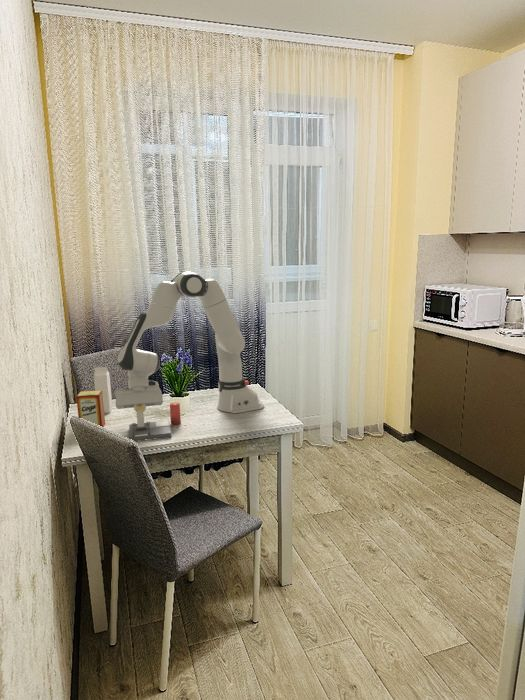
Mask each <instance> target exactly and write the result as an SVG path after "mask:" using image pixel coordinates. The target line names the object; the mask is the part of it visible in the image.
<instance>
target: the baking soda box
mask: <svg viewBox="0 0 525 700" xmlns="http://www.w3.org/2000/svg"><path fill="white" fill-rule="evenodd" d="M75 397H76V407H77V415H78V416H77V417H78V419H79V418H83V419H85V420H87V421H90V422H92V423H95V424H97V425H100V426H102V427H103V428H104V427H105V425H106V418H105V413H104V405H103V394H102V391H95V390H89V391H88V390H87V391H84V390H83V391H79V392H78V394H77V395H76V396H75Z"/></svg>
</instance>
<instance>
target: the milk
mask: <svg viewBox="0 0 525 700" xmlns="http://www.w3.org/2000/svg"><path fill="white" fill-rule="evenodd" d="M93 382H94V391H102V394H103V405H104V414H111V412H112V411H113V399H112V388H111V378H110V371H109V369H108V367H107V366H102V367H101V366H100V367H98V366H96V367H94V374H93Z"/></svg>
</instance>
